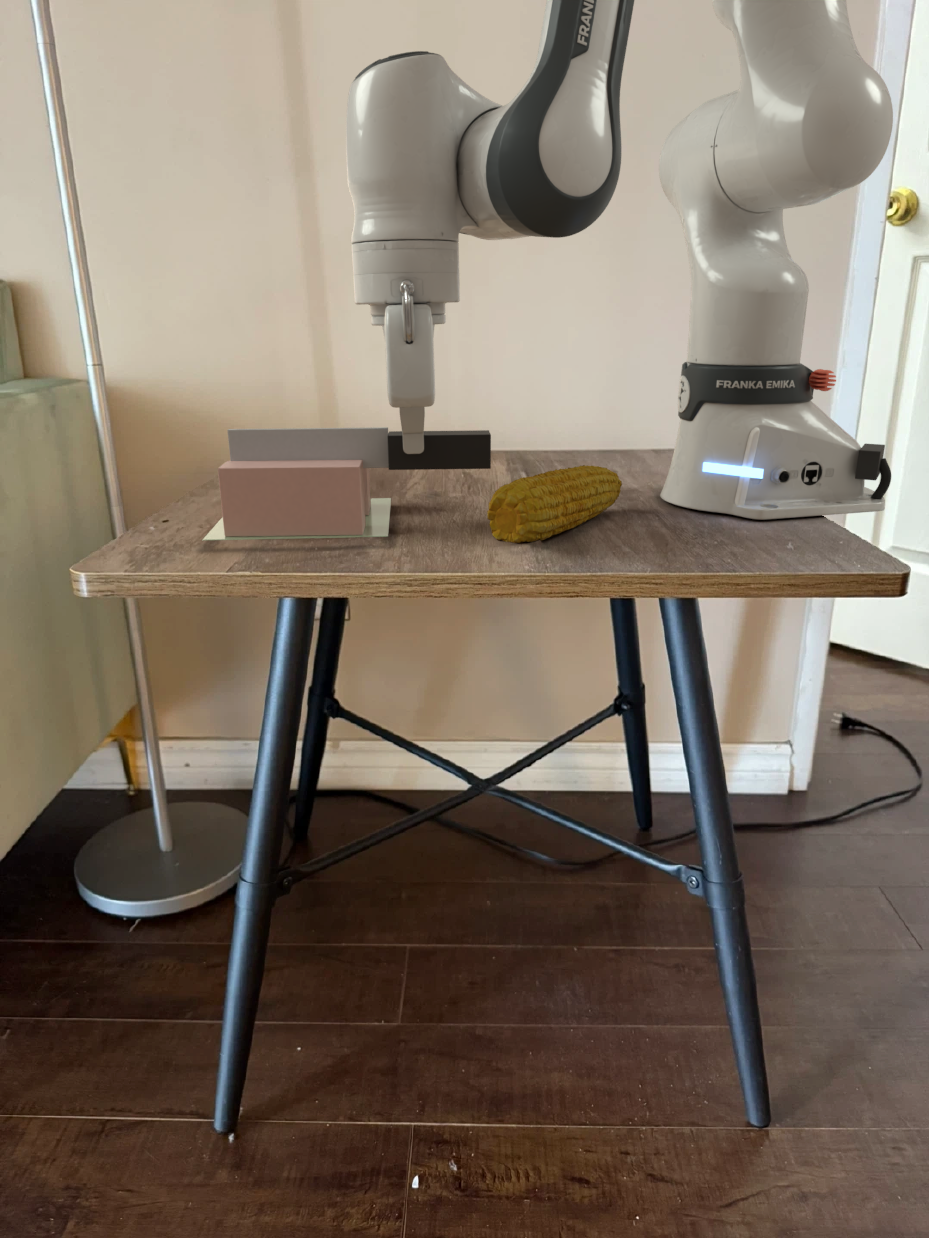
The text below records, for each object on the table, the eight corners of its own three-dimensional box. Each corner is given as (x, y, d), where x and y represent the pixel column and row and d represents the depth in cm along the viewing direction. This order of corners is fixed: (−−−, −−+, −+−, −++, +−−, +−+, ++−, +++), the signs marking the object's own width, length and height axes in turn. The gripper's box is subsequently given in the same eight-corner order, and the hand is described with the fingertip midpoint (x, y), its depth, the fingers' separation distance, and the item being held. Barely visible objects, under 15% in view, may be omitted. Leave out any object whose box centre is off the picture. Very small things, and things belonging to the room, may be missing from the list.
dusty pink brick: (365, 525, 78) (362, 459, 76) (362, 535, 75) (359, 466, 73) (233, 527, 78) (226, 460, 76) (224, 537, 75) (217, 468, 73)
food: (535, 559, 71) (536, 488, 69) (477, 550, 74) (476, 481, 72) (631, 510, 88) (634, 451, 86) (580, 504, 91) (583, 447, 89)
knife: (488, 463, 78) (489, 424, 77) (490, 468, 76) (490, 428, 75) (235, 466, 78) (231, 427, 76) (228, 472, 75) (224, 431, 74)
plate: (391, 507, 90) (391, 497, 90) (388, 547, 75) (388, 536, 75) (237, 510, 89) (236, 500, 89) (202, 551, 74) (201, 540, 74)
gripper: (450, 277, 62) (455, 469, 67) (440, 283, 81) (444, 432, 86) (362, 279, 62) (373, 471, 66) (373, 285, 81) (381, 433, 86)
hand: (413, 449), depth 76 cm, fingers closed on knife, 2 cm apart
